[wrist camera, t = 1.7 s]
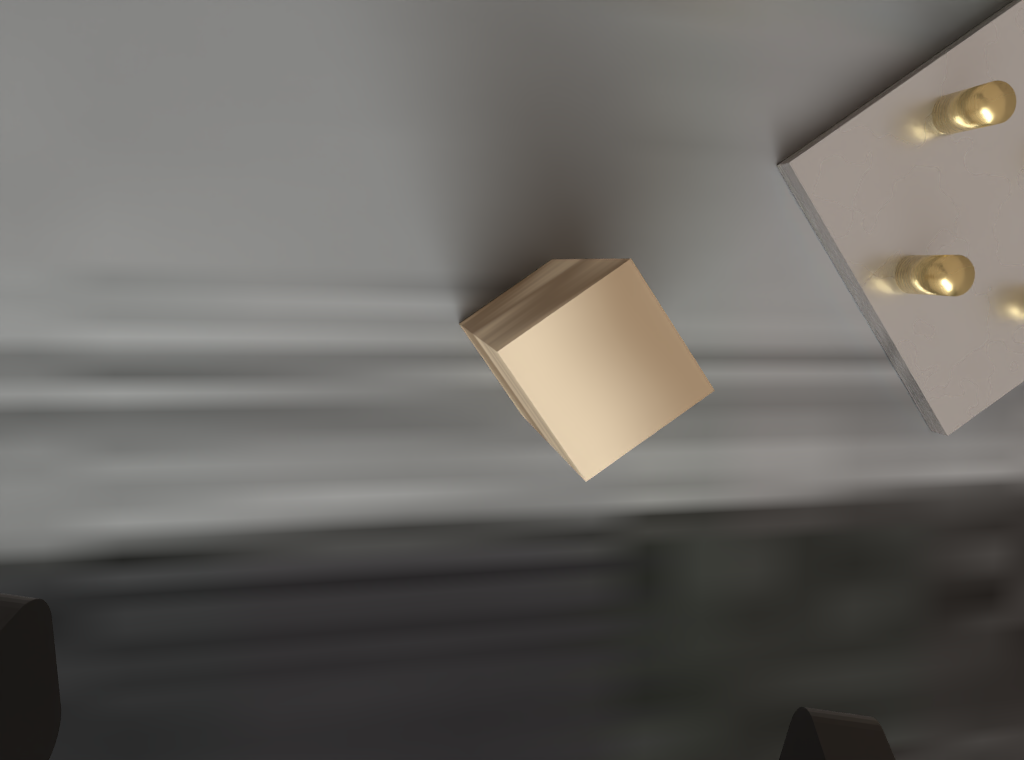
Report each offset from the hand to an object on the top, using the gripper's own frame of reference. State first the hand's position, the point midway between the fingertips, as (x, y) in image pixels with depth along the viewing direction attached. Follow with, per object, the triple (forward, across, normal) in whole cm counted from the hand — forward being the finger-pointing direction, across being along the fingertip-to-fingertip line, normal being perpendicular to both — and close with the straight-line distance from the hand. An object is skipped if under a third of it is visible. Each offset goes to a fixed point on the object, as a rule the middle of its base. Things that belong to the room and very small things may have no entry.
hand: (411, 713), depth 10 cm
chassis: (+28, -17, -2) cm, 32 cm away
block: (+23, -1, +4) cm, 23 cm away
